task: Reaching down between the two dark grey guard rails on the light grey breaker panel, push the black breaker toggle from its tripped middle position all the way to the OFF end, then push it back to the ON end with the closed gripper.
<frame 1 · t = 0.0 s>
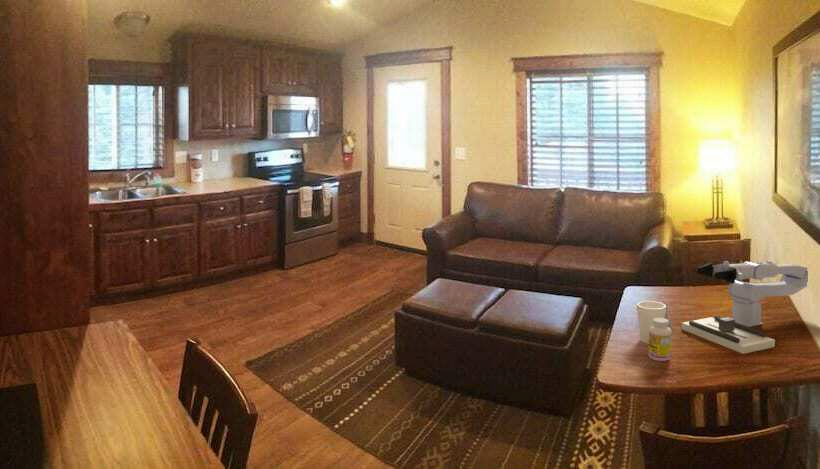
hand: (706, 273, 210), 22 cm above the table, tool horizontal, fingers open, 7 cm apart
foam cup: (650, 341, 208), on the table
dark grey guard rails: (726, 328, 207), on the breaker panel, point 3 cm above the table
breaker toggle: (726, 324, 207), point 5 cm above the table, slide at 6.0 cm
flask: (662, 329, 218), on the table
breaker panel: (725, 337, 208), on the table
supplement bottle: (659, 358, 193), on the table
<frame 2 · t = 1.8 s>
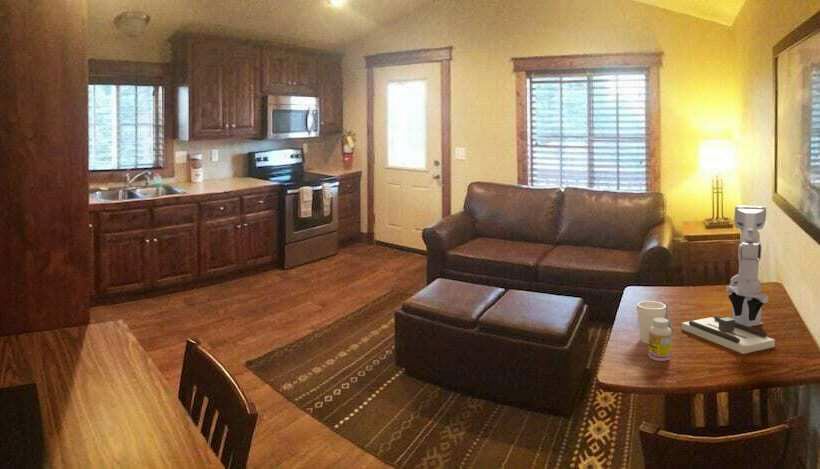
hand: (745, 317, 200), 9 cm above the table, tool pointing down, fingers open, 5 cm apart
nothing on the table moved.
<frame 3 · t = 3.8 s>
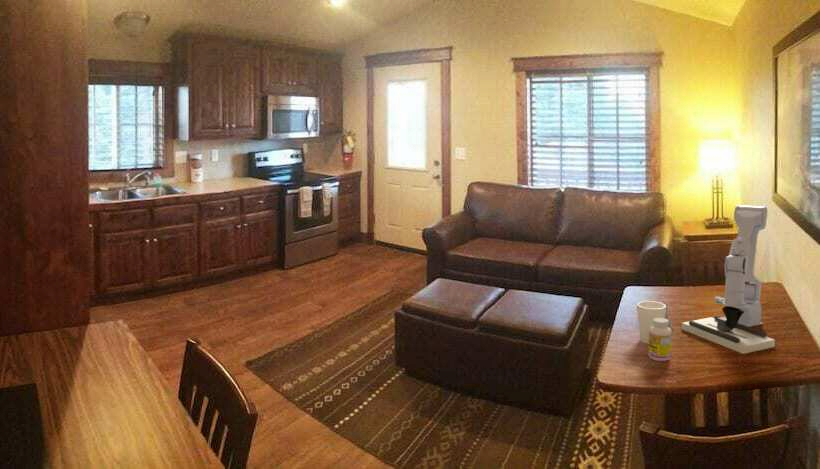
hand: (732, 327, 205), 4 cm above the table, tool pointing down, fingers closed
breaker toggle: (725, 324, 207), point 5 cm above the table, slide at 5.4 cm, touching gripper
everything else where it was.
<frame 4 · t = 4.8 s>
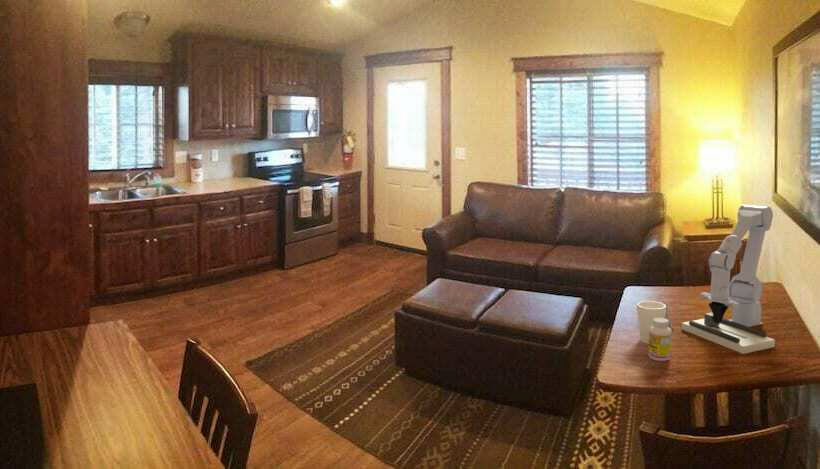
hand: (717, 322, 210), 4 cm above the table, tool pointing down, fingers closed
breaker toggle: (712, 319, 213), point 5 cm above the table, slide at -0.2 cm, touching gripper
everything else where it was.
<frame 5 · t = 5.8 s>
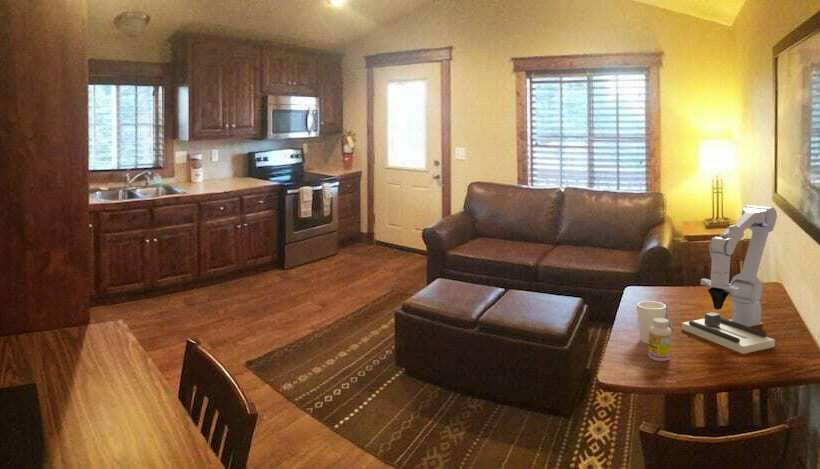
hand: (717, 308, 210), 9 cm above the table, tool pointing down, fingers closed
breaker toggle: (712, 319, 212), point 5 cm above the table, slide at -0.1 cm
everything else where it was.
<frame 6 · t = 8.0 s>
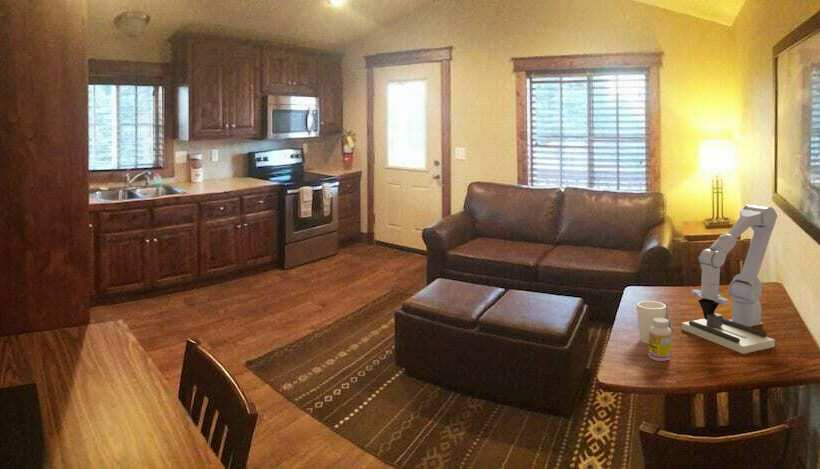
hand: (708, 319, 214), 4 cm above the table, tool pointing down, fingers closed
breaker toggle: (714, 320, 212), point 5 cm above the table, slide at 0.9 cm, touching gripper
everything else where it was.
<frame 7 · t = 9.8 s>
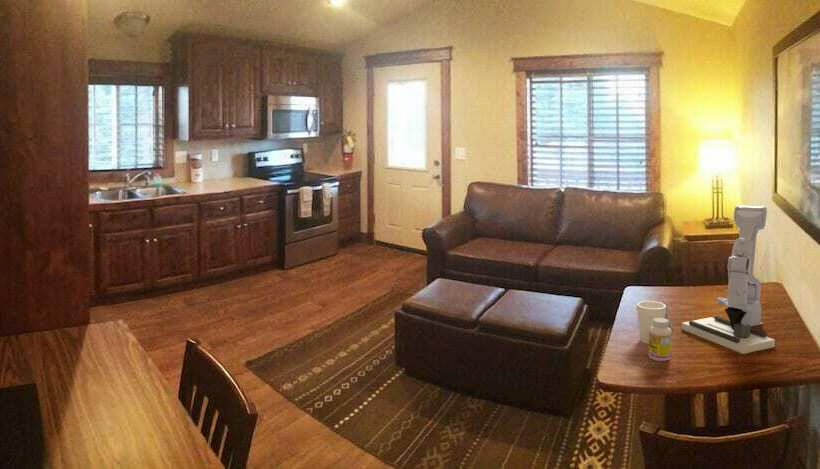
hand: (734, 328, 204), 4 cm above the table, tool pointing down, fingers closed
breaker toggle: (741, 330, 201), point 5 cm above the table, slide at 12.1 cm, touching gripper
everything else where it was.
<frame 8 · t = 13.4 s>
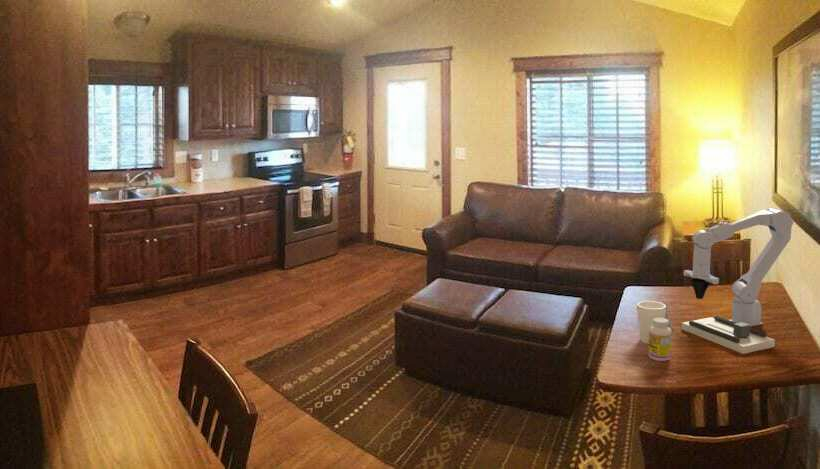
hand: (699, 298, 222), 9 cm above the table, tool pointing down, fingers closed
breaker toggle: (741, 329, 201), point 5 cm above the table, slide at 12.1 cm
everything else where it was.
at the end: breaker toggle slide at 12.1 cm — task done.
